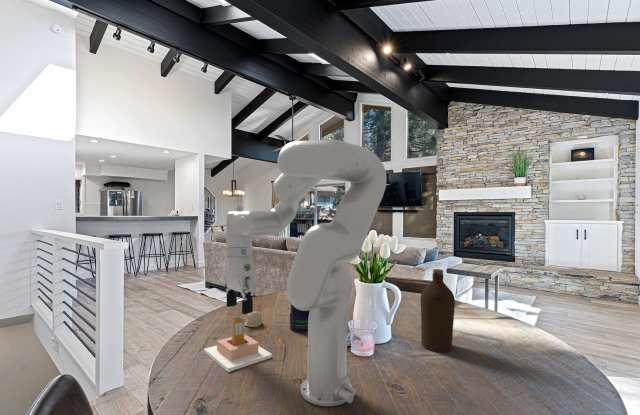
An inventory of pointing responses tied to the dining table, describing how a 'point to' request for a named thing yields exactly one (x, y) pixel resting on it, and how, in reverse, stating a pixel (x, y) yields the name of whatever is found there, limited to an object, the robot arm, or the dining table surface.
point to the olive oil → (437, 314)
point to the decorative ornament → (253, 319)
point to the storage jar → (299, 320)
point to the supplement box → (237, 331)
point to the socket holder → (237, 353)
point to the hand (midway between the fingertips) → (239, 309)
